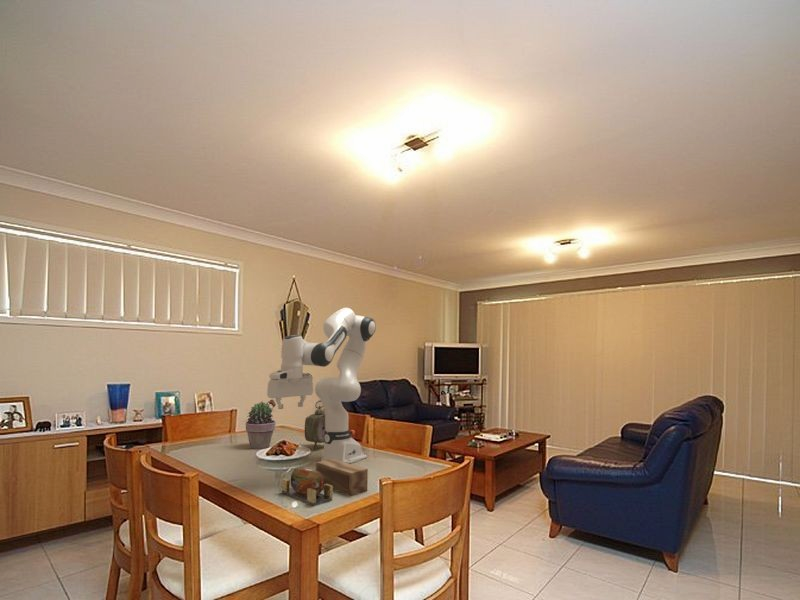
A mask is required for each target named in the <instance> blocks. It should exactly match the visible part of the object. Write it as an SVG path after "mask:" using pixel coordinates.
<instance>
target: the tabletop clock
mask: <svg viewBox="0 0 800 600" xmlns="http://www.w3.org/2000/svg"><path fill="white" fill-rule="evenodd" d="M318 403H322V402H321V400H318V401H316V403H315V408H316V410H315V411H314V413H313V414H310V415H308V416H306V418H305V420H304V439H305V440H306V441H307V442H311V443H314V445H313V447H314V448H313V450H314V451H317V450H318V445H317V444H322V443H324V444H325V441H324V431H325V411H324V409H323V408H324V407H323V405H322V406H321V405H318V406H317V404H318Z"/></svg>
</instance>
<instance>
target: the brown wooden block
mask: <svg viewBox="0 0 800 600" xmlns="http://www.w3.org/2000/svg"><path fill="white" fill-rule="evenodd" d="M315 471H318V472H320V473H321V474H322V476H323V479H324V484H330V485H332V486H333V491H337V492H340V493H343V494H345V495H349V496H354V495H359V494H361V493H364V492H367V491H368V478H369V477H368V474H369V473H368V472H369V471H368V468H365V467H362V466H359V465H355V464H353V463H350V464H349V463H345V462H341V461H338V460H334V459H329V460H324V461H316V462H315Z"/></svg>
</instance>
